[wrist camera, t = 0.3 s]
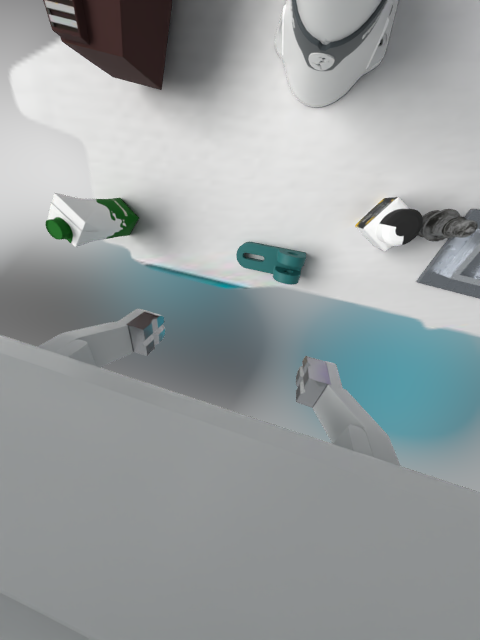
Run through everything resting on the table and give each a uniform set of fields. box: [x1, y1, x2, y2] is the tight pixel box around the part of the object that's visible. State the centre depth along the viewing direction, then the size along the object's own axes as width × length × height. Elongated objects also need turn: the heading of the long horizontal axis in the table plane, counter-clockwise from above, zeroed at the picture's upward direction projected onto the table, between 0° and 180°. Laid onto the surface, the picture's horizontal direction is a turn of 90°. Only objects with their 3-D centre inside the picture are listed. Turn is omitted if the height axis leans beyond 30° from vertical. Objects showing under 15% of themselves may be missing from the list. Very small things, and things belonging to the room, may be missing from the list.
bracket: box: [237, 242, 306, 284], centre depth 50 cm, size 18×7×8 cm, turn 82°
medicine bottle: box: [355, 197, 423, 251], centre depth 39 cm, size 7×7×12 cm
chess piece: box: [418, 209, 478, 241], centre depth 37 cm, size 6×6×12 cm
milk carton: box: [46, 193, 139, 247], centre depth 49 cm, size 9×9×20 cm
